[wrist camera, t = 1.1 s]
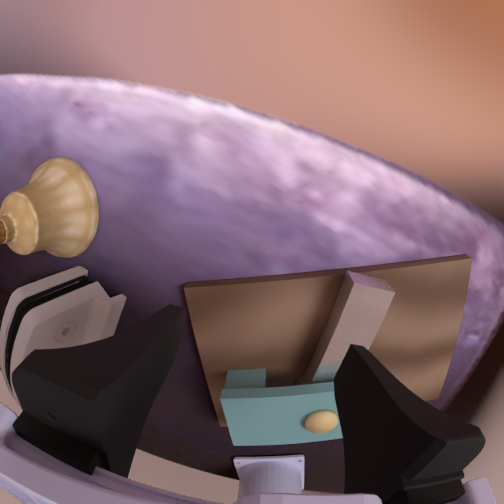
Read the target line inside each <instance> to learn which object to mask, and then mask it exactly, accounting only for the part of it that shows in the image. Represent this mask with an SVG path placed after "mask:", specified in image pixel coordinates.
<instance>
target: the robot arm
mask: <svg viewBox="0 0 504 504" xmlns="http://www.w3.org/2000/svg"><path fill="white" fill-rule="evenodd" d="M183 311H184V308H182V307H178V306H174V305H171V304H170V305H168V306H166V307H164V308H163V309H161V310H160V311H158V312H157V313H155V314H154V315H152V316H150V317H149V318H147V319H145V320H144V321H142V322H140V323H139V324H137V325H135V326H133V327H131V328H129V329H127V330H125V331H123V332H121V333H118V334H116V335H113V336H111V337H108V338H105V339H102V340H98V341H95V342H91V343H87V344H83V345H78V346H73V347H66V348H56V349H34V350H33V351H32V352H31V353H30V354H29V355H28V356H27V357H26V358H25V359H24V360H23V361H22V362H21V363H20V364H19V365H18V366H17V367H16V369H15V370H14V371H13V372H12V384H13V388H14V390H15V393H16V395H17V398H18V400H19V403H20V405H21V407H22V410H23V412H22V413H21V415H20V416H19V417H18V416H17V415H16V414H15V412H14V411H12V410H11V409H10V408H8V407H7V406H6V405H4V404H3V403H1V402H0V487H1V488H2V489H4V490H5V491H6V492H8V493H9V494H11V495H12V496H13V497H15V498H16V499H17V500H19V501H20V502H22V503H23V504H222V503H216V502H211V501H206V500H201V499H197V498H192V497H188V496H184V495H180V494H176V493H172V492H169V491H165V490H162V489H158V488H155V487H152V486H148V485H145V484H142V483H139V482H136V481H133V480H131V479H128V474H129V471H130V467H131V464H132V460H133V457H134V454H135V450H136V447H137V444H138V441H139V438H140V435H141V432H142V429H143V427H144V424H145V421H146V418H147V415H148V413H149V410H150V408H151V406H152V403H153V401H154V399H155V398H156V396H157V394H158V392H159V390H160V388H161V386H162V384H163V382H164V380H165V378H166V376H167V374H168V372H169V370H170V368H171V366H172V364H173V361H174V359H175V356H176V353H177V350H178V347H179V341H180V333H181V325H182V318H183ZM334 395H335V402H336V407H337V412H338V416H339V421H340V426H341V431H342V436H343V442H344V455H345V490H344V494H302V489H303V488H304V455H301V454H299V455H286V456H266V457H234V458H233V462H234V465H235V468H236V471H237V473H238V476H239V479H240V484H239V493H238V500H237V501H236V502H234V503H233V504H497V503H496V500H495V498H494V496H493V493H492V491H491V489H490V486H489V484H488V482H487V479H486V477H481V478H477V479H474V480H471V481H468V482H466V483H465V484H463V485H462V482H461V480H460V479H462V478H464V473H463V469H464V468H465V467H466V466H467V465H468V464H469V463H470V462H471V461H472V460H473V459H474V458H475V457H476V456H477V455H478V454H479V453H480V452H481V450H482V449H483V447H484V445H485V437H484V436H483V434H482V432H481V430H480V429H479V427H477V426H474V425H472V424H469V423H466V422H463V421H461V420H458V419H456V418H454V417H452V416H450V415H447V414H446V413H444V412H442V411H440V410H438V409H437V408H435V407H433V406H432V405H430V404H428V403H427V402H425V401H424V400H422V399H421V398H420V397H418V396H417V395H416V394H414V393H413V392H412V391H411V390H409V389H408V388H407V387H406V386H405V385H404V384H402V383H401V382H400V381H399V380H398V379H397V378H396V377H395V376H394V375H393V374H392V373H391V372H390V371H389V370H388V369H387V368H386V367H385V366H384V365H383V364H382V363H381V362H380V361H379V360H378V359H377V358H376V357H375V356H374V355H373V354H372V353H371V352H369V351H368V350H367V349H366V348H365V347H364V346H361V345H355V344H350V346H349V348H348V350H347V353H346V355H345V357H344V359H343V361H342V363H341V365H340V367H339V369H338V371H337V373H336V375H335V377H334Z"/></svg>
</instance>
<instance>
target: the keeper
mask: <svg viewBox="0 0 504 504" xmlns="http://www.w3.org/2000/svg"><path fill="white" fill-rule="evenodd" d="M391 373H392V374H393V375H394V376H395V374H394V372H391ZM395 377H396V376H395ZM220 400H221V403H222V407H223V411H224V414H225V418H226V421H227V425H228V428H229V432H230V435H231V438H232V442H233V445H234V446H250V445H279V444H294V443H305V442H315V441H324V440H331V439H339V438H343V436H342V431H341V426H340V421H339V416H338V412H337V407H336V402H335V395H334V382H326V383H317V384H308V385H297V386H285V387H270V388H268V384H267V377H266V369H246V370H228V373H227V378H226V383H225V388H224V389H222V392H221V397H220Z"/></svg>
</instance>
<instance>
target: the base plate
mask: <svg viewBox="0 0 504 504" xmlns="http://www.w3.org/2000/svg"><path fill="white" fill-rule="evenodd" d="M471 263H472V258H471V257H469V256H468V255H466V254H463V255H455V256H447V257H440V258H432V259H424V260H415V261H407V262H399V263H390V264H381V265H372V266H363V267H354V268H344V269H334V270H325V271H314V272H304V273H294V274H283V275H272V276H260V277H249V278H237V279H224V280H211V281H198V282H187V283H186V285H185V287H184V292H185V297H186V301H187V306H188V310H189V314H190V318H191V322H192V327H193V331H194V335H195V339H196V343H197V347H198V350H199V354H200V358H201V362H202V365H203V369H204V373H205V376H206V380H207V384H208V387H209V391H210V394H211V397H212V401H213V404H214V407H215V411H216V414H217V417H218V421H219V424H220V426H221V427H228V425H227V421H226V418H225V414H224V411H223V407H222V403H221V400H220V397H221V392H222V389H224V388H225V383H226V378H227V373H228V370H246V369H266V377H267V384H268V388H270V387H285V386H293V385H294V383H295V382H296V381H297V380H298V379H299V378H300V377H301V376H303V375H305V373H306V371H307V368H308V366H309V364H310V362H311V359H312V357H313V355H314V352H315V350H316V348H317V346H318V343H319V341H320V338H321V336H322V334H323V331H324V329H325V326H326V324H327V321H328V319H329V316H330V314H331V311H332V309H333V306H334V304H335V301H336V299H337V296H338V293H339V291H340V288H341V285H342V283H343V280H344V277H345V274H346V272H347V271H351V272H355V273H359V274H363V275H367V276H371V277H375V278H379V279H383V280H386V282H387V283H388V284H389V285H390V287H391V288H392V289H393V290H394V292H395V294H394V297H393V299H392V301H391V304H390V306H389V308H388V310H387V313H386V315H385V317H384V319H383V321H382V324H381V326H380V328H379V330H378V332H377V334H376V336H375V338H374V340H373V342H372V344H371V346H370V348H369V350H368V351H369V352H371V353H372V354H373V355H374V356H375V357H376V358H377V359H378V360H379V361H380V362H381V363H382V364H383V365H384V366H385V367H386V368H387V369H388V370H389V371H390V372H394V374H395V376H396V378H397V379H398V380H399V381H400V382H401V383H402V384H404V385H405V386H406V387H407V388H408V389H409V390H411V391H412V392H413V393H414V394H416V395H417V396H418V397H420V398H421V399H422V400H424V401H428V400H432V399H435V398H439V395H440V392H441V389H442V386H443V384H444V381H445V378H446V375H447V371H448V368H449V365H450V362H451V358H452V355H453V351H454V348H455V344H456V340H457V336H458V332H459V328H460V324H461V320H462V315H463V311H464V306H465V301H466V295H467V290H468V284H469V277H470V270H471Z"/></svg>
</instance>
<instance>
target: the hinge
mask: <svg viewBox="0 0 504 504" xmlns="http://www.w3.org/2000/svg"><path fill="white" fill-rule="evenodd" d="M87 274H88V270H86V269H85V268H83V267H81V266H77V267H74V268H71V269H68V270H66V271H63V272H60V273H57V274H55V275H52V276H49V277H46V278H44V279H41V280H38V281H36V282H33V283H30V284H28V285H25V286H23V287H20V288H18V289H16V290H15V291H14V292H13V293H12V295H11V297H10V299H9V302H8V304H7V307H6V310H5V313H4V317H3V320H2V325H1V330H0V367H1V371H2V374H3V376H4V379H5V382H6V385H7V387H8V389H9V391H10V393H11V395H12V396H13V398H14V399H15V400H16V402H17V403H18V405H19V406H20V408H21V409H22V407H21V405H20V403H19V400H18V398H17V395H16V393H15V390H14V388H13V384H12V372H13V371H14V370H15V369H16V367H17V366H18V365H19V364H20V363H21V362H22V361H23V360H24V359H25V358H26V357H27V356H28V355H29V354H30V353H31V352H32V351H33V350H34V349H56V348H66V347H73V346H78V345H83V344H87V343H91V342H95V341H98V340H102V339H105V338H108V337H111V336H113V335H114V333H115V330H116V327H117V324H118V321H119V318H120V315H121V312H122V309H123V307H124V304H125V301H126V297H125V296H124V295H123V294H120V295H117V296H114V297H111V298H110V297H109V296H108V294H107V293H106V292H105V290H104V289H103V288H102V286H101V285H100V284H99V282H98V281H96V282H94V283H92V281H91V282H89V283H87V280H88V277H87Z"/></svg>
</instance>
